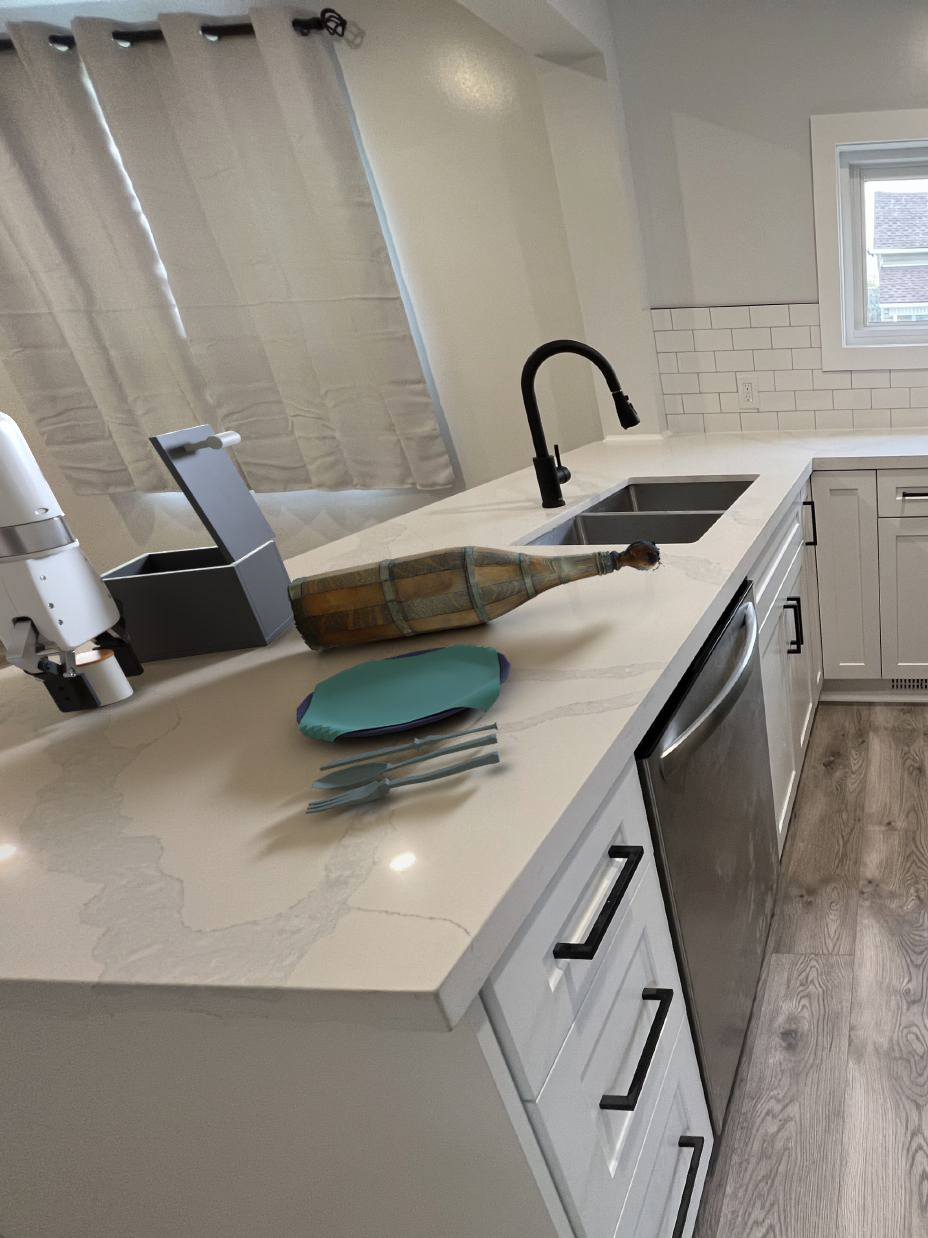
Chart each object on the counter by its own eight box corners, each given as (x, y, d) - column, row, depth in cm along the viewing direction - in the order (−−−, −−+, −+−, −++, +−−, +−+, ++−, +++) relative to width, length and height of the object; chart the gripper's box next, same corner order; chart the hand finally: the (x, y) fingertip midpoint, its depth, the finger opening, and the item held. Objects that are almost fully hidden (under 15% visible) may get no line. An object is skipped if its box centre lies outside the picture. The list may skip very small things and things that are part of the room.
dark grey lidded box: (128, 664, 86) (84, 582, 82) (180, 627, 97) (144, 553, 92) (267, 645, 90) (233, 566, 86) (303, 611, 101) (274, 540, 97)
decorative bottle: (286, 648, 81) (673, 582, 96) (269, 561, 82) (657, 510, 97) (324, 658, 91) (669, 597, 107) (309, 580, 92) (654, 531, 107)
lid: (147, 437, 78) (195, 428, 79) (202, 425, 89) (244, 416, 90) (228, 563, 85) (271, 553, 86) (270, 537, 96) (308, 528, 97)
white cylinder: (73, 710, 75) (48, 668, 73) (97, 693, 79) (74, 652, 77) (121, 703, 77) (98, 661, 74) (142, 686, 80) (121, 646, 78)
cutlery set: (510, 647, 87) (505, 630, 86) (526, 766, 63) (520, 744, 62) (320, 685, 79) (313, 667, 78) (254, 838, 55) (242, 815, 54)
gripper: (32, 523, 76) (111, 666, 84) (-105, 569, 61) (5, 738, 69) (117, 515, 79) (186, 655, 86) (4, 558, 64) (99, 723, 71)
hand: (105, 691), depth 77 cm, fingers open, 7 cm apart
